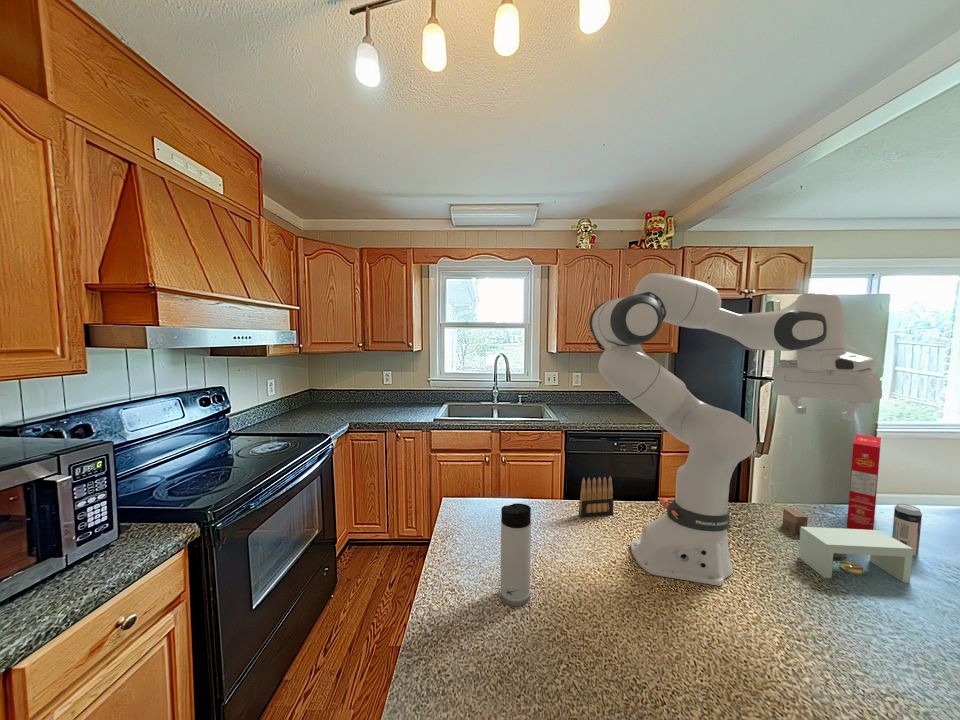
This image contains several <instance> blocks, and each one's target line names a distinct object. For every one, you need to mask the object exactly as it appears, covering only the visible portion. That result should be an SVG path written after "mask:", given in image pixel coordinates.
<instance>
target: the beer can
mask: <svg viewBox="0 0 960 720" xmlns="http://www.w3.org/2000/svg"><path fill="white" fill-rule="evenodd" d="M893 511H894V513H893V521H892V522H893V523H892V536H891V537H892V538H894V539H896V540H898V541H900V542H902V543H904V544H905V545H907V546H909V547H911V548H913V557H917V556H919V554H920V553H919V552H920V551H919V549H920V538H921V528H922V527H921V526H922V517H923V513H922V511H921V510H920V508H918V507H916V506H914V505H910V504H905V503H897V504H896V505H895V506H894V510H893Z"/></svg>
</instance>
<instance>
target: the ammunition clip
mask: <svg viewBox="0 0 960 720" xmlns="http://www.w3.org/2000/svg"><path fill="white" fill-rule="evenodd" d="M612 481H613V479H612V476H610V475H609V477H608V481H607V478H606V476H604V477H603V479H602V478H601V477H600V476H598V478H597V480H596V478H595V476H594V477H593V478H592V480H591V479H590V477H587V481H586V480H585V477H583V478H582V481H581V486H580V487H581V488H580V494H579V495H580V497H579V505H578V515H579V516H580V517H581V518H590V517H602V516H603V517H604V516H613V515H614V498H613V491H614V490H613V482H612Z"/></svg>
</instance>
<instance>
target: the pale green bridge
mask: <svg viewBox="0 0 960 720" xmlns="http://www.w3.org/2000/svg"><path fill="white" fill-rule="evenodd" d="M833 553H839V554H847V555H862V556H863V555H864V556H869V562H871V563H872V564H874V565H875V566H877V567H879V568H880V569H882V570H883V571H885V572H886V573H888V574H889V575H891V576H893V577H894V578H895V579H897V580H898V581H901V582H902V583H908V584H909V583H911V575H912V565H913V557H914V556H913V548H911V547H909V546H907V545H905V544H904V543H902V542H900V541H898V540H896V539H894V538H892V536H890V535H888V534H887V533H885V532H882V531H881V530H879V529H873V530H863V529H849V528H842V527H841V528H837V527H819V526H817V527H815V526H807V527H801V528H800V535H799V545H798V558H799V559H800V560H801V561H802V562H804V563H805V564H806V565H808V566H809V567H810V568H812V569H813V571H815V572H817V573H818V574H819V575H820V576H821V577H823V578H824V579H825V578H826V579H832V576H833V575H832V574H833V564H834V557H833Z"/></svg>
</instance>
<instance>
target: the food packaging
mask: <svg viewBox="0 0 960 720" xmlns="http://www.w3.org/2000/svg"><path fill="white" fill-rule="evenodd" d="M881 441H882V437H879V436H873V435H867V434H860V433H856V434H855V437H854V440H853V444H852V456H851V467H850V480H849V481H850V482H849V491H848V492H849V495H848V506H847V507H848V508H847V517H846V518H847V520H846V529H863V530H874V527H875V526H874V525H875V517H876V516H875V515H876V503H877V502H876V501H877V495H878V494H877V491H878V479H879V469H880V467H879V466H880V457H881V456H880V454H881V444H882V443H881Z"/></svg>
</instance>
